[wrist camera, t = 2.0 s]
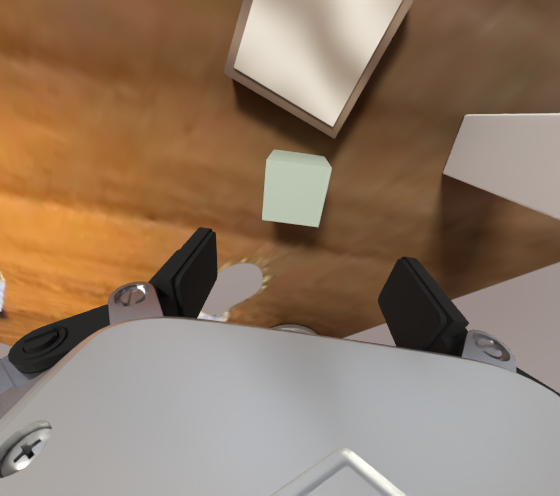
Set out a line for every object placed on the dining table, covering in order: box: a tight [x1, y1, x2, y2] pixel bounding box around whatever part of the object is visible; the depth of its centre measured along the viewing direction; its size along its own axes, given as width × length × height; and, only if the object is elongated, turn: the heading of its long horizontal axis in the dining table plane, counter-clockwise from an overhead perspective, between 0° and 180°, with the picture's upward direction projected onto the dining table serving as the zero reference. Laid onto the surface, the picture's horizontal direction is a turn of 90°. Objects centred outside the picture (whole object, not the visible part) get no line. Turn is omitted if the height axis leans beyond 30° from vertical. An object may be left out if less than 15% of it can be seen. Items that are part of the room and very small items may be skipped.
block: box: [262, 150, 332, 227], centre depth 24 cm, size 6×6×7 cm
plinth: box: [223, 0, 414, 139], centre depth 19 cm, size 12×12×3 cm
